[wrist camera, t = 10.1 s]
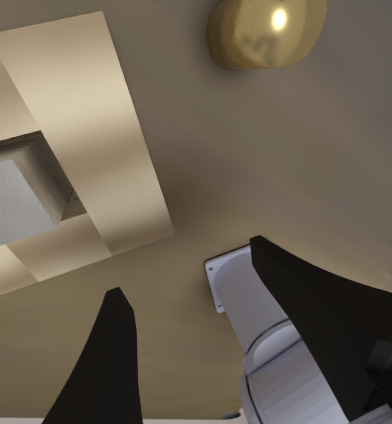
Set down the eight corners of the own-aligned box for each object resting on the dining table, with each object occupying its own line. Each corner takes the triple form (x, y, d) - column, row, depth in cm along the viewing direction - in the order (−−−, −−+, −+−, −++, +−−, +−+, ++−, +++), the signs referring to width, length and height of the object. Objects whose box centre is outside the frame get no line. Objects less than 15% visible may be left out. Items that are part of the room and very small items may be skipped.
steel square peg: (74, 185, 17) (56, 228, 12) (19, 200, 17) (-23, 252, 12) (46, 132, 15) (12, 159, 10) (-19, 147, 15) (-88, 183, 10)
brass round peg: (262, 62, 17) (322, 57, 12) (211, 75, 16) (252, 76, 11) (259, -11, 15) (332, -55, 10) (201, 2, 14) (246, -38, 9)
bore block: (168, 215, 21) (175, 234, 19) (-16, 277, 19) (-36, 307, 16) (105, 22, 13) (102, 10, 11) (-217, 91, 11) (-311, 96, 9)
